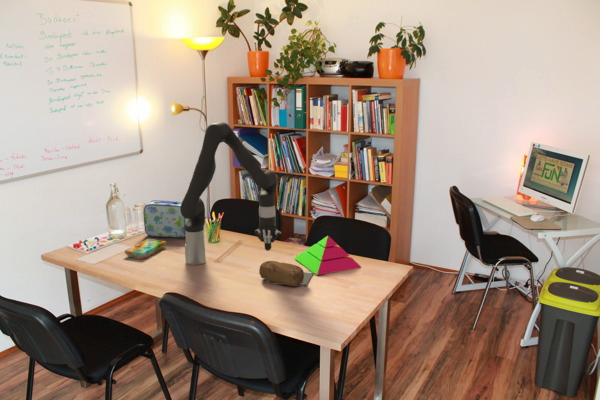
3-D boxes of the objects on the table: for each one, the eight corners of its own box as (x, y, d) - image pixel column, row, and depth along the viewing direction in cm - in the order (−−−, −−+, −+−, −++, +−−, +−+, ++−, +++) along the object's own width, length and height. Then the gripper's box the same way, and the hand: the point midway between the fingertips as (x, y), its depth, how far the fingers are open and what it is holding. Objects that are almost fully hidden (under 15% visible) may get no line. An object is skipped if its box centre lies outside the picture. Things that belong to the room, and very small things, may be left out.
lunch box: (193, 233, 313) (191, 199, 308) (186, 239, 303) (184, 204, 298) (151, 231, 318) (149, 197, 312) (143, 237, 307) (140, 202, 302)
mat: (263, 282, 245) (263, 281, 245) (273, 269, 260) (273, 268, 260) (306, 286, 240) (306, 285, 240) (313, 272, 255) (313, 271, 255)
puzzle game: (124, 249, 276) (148, 237, 294) (125, 257, 277) (149, 245, 295) (143, 252, 272) (166, 239, 290) (143, 260, 273) (166, 247, 291)
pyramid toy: (336, 251, 284) (337, 225, 280) (361, 267, 262) (363, 239, 258) (294, 257, 273) (294, 231, 269) (316, 275, 251) (317, 246, 248)
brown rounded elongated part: (257, 279, 246) (294, 288, 237) (257, 263, 245) (294, 272, 235) (270, 272, 256) (306, 281, 246) (271, 257, 254) (307, 265, 244)
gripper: (250, 216, 242) (252, 251, 247) (278, 217, 239) (279, 254, 244) (256, 211, 249) (257, 246, 254) (283, 213, 246) (283, 248, 251)
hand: (268, 250), depth 249 cm, fingers closed
